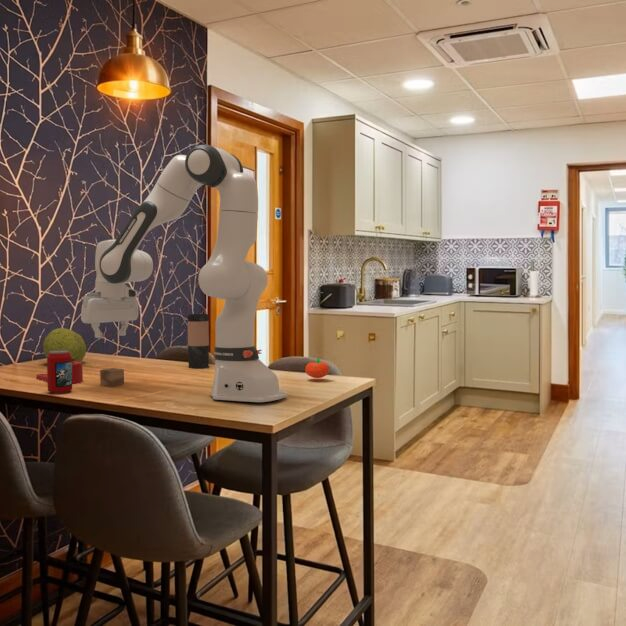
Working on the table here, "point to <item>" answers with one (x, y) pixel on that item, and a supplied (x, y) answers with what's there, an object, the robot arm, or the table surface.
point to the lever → (76, 373)
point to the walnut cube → (112, 377)
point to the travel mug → (198, 341)
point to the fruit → (65, 343)
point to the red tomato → (317, 369)
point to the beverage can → (59, 371)
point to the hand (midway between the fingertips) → (110, 336)
